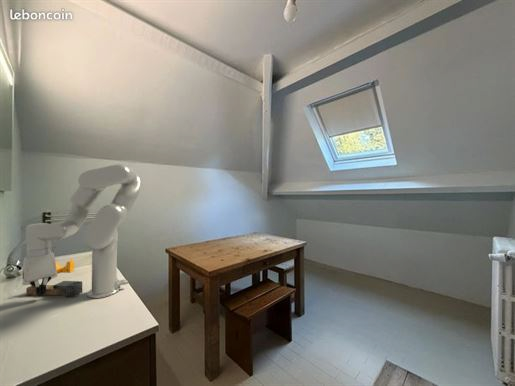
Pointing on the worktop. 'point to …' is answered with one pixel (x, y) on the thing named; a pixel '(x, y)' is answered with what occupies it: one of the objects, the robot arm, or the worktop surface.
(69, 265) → the pipe clamp
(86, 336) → the worktop surface
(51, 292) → the link
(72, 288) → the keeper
